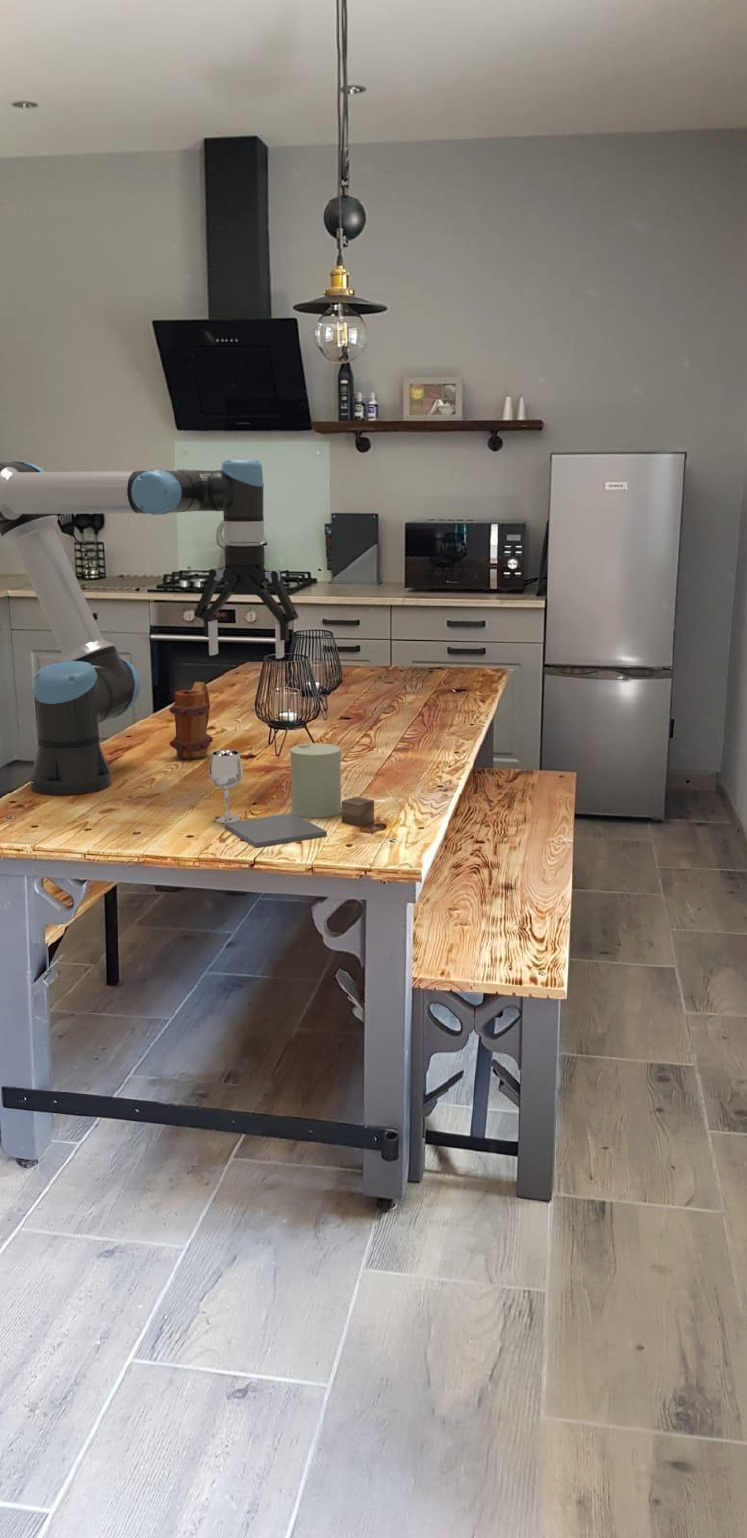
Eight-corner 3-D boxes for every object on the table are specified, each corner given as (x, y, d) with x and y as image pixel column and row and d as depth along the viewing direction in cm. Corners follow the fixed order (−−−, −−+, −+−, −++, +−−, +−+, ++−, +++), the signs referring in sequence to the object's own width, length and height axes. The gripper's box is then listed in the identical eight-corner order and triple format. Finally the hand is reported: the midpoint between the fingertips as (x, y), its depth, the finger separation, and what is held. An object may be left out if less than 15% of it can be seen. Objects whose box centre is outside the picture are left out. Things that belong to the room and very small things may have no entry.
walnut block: (359, 827, 211) (358, 805, 210) (341, 823, 213) (341, 801, 212) (374, 822, 214) (374, 800, 213) (356, 818, 216) (356, 796, 215)
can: (314, 801, 227) (313, 738, 224) (352, 810, 221) (352, 745, 218) (280, 812, 220) (278, 747, 217) (318, 821, 214) (317, 754, 211)
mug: (202, 762, 256) (200, 692, 253) (165, 761, 258) (162, 690, 254) (224, 747, 270) (222, 680, 267) (189, 746, 272) (187, 679, 268)
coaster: (255, 847, 199) (255, 842, 199) (224, 827, 210) (224, 823, 210) (326, 835, 206) (326, 831, 205) (292, 817, 216) (292, 812, 216)
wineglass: (245, 814, 218) (243, 749, 215) (242, 823, 213) (240, 756, 210) (212, 815, 218) (210, 749, 215) (209, 824, 212) (207, 757, 209)
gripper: (313, 544, 231) (314, 655, 236) (190, 541, 237) (194, 650, 242) (300, 546, 224) (302, 661, 229) (174, 543, 230) (178, 655, 235)
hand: (246, 656), depth 235 cm, fingers open, 13 cm apart
